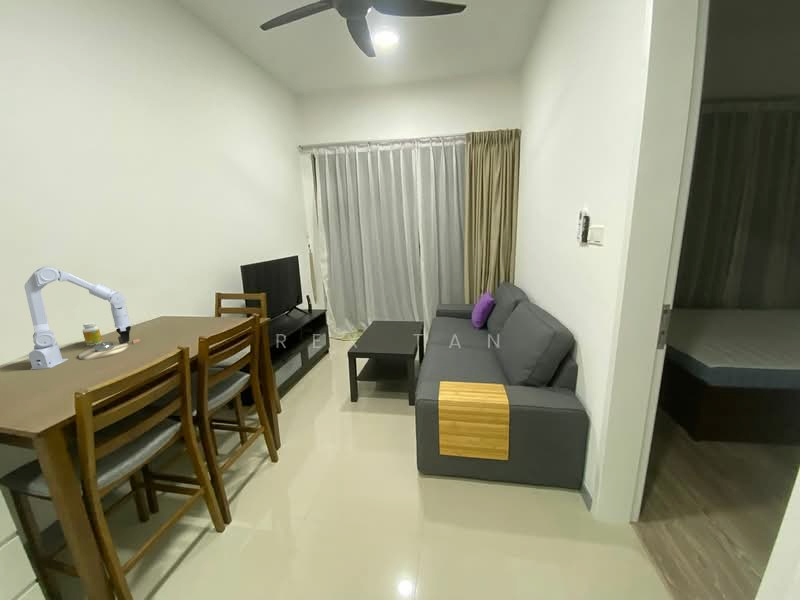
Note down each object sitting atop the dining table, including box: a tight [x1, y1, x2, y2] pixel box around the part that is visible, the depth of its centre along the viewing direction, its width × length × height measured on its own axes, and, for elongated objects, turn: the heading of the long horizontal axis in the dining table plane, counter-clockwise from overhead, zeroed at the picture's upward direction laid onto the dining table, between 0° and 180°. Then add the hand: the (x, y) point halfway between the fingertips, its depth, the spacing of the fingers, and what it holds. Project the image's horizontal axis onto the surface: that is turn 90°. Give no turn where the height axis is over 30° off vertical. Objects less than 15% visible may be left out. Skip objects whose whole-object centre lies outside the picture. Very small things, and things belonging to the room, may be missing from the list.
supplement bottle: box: [82, 321, 103, 346], centre depth 169 cm, size 6×6×11 cm
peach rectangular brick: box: [131, 338, 141, 344], centre depth 169 cm, size 3×1×2 cm, turn 160°
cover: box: [93, 341, 114, 352], centre depth 156 cm, size 7×7×3 cm
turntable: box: [78, 335, 130, 361], centre depth 157 cm, size 18×20×5 cm
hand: (126, 341), depth 164 cm, fingers closed
